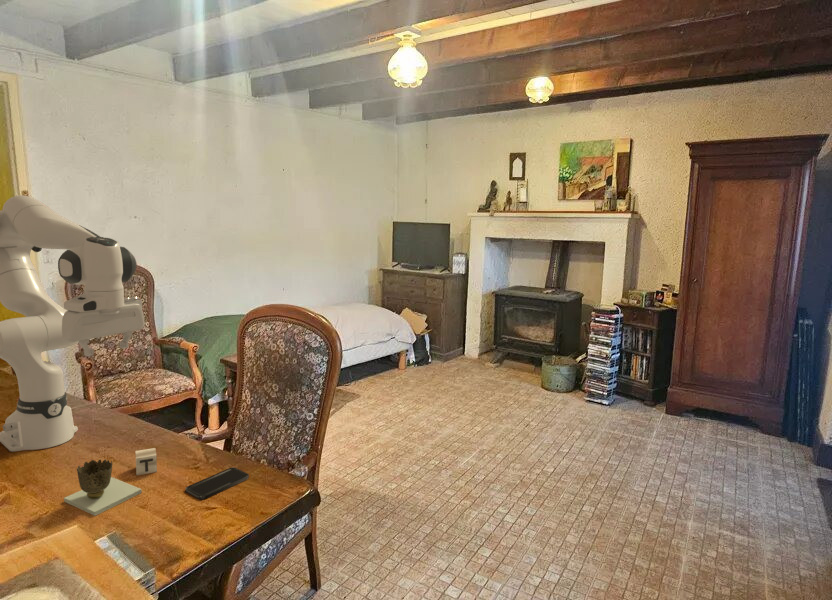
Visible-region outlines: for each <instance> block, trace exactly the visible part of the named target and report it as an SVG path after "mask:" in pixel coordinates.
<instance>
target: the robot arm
mask: <svg viewBox="0 0 832 600" xmlns="http://www.w3.org/2000/svg"><path fill="white" fill-rule="evenodd" d="M42 249H46V250H47V249H48V250H65V251H64V252H63V253H62V254H61V255H60V256H59V258H58V260H57V269H58V274H59V276H60V278H61V279H63V280H64V281H65V282H67V283H68V284H70V285H77V286H79V285H80V286H81V285H82V286H83V285H84V289H83V293H82V294H80V295H77V296H74V297H73V298H70V299H67V300H65V301H64V302H63V306H61V305H59V304H58V303H57V302H56V301H55V300H53V299H52V298H51V297H50V295H49V294H48V293H47V291H46V289H45V287H44V285H43V283H42V282H41V279H40V277H39V274H38V272H37V270H36V268H35V266H34V264H33V262H32V260H31V251H32V252H34V253H39V252H41V251H42ZM137 267H138V265H137V260H136V258H135V256H134V255H133V254H132V252H131V251H130V250H129V249H128V248H126V247H124V246H120V244H119V241H117V240H115V239H113V238H110V237H104V236H100V235H99V234H97V233H95V232H93V231H92V230H90V229H88V228H86V227H84V226H83V225H80V224H78V223H75V222H74V221H71V220H69V219H67V218H65V217H63V216H62V215H60V214H59V213H57V212H55V211H54V210H53V209H51V208H50V207H49V206H47V205H46V204H44V203H43V202H41V201H39V200H38V199H36V198H34V197H31V196H28V195H14V196H12V197H10V198H8V199H7V200H6V201H5V202H4V204H3V206H2V210H0V304H2V307H4V308H5V309H7V310H9V311H12V312H15V313H18V314H21V315H23V317H21V316H20V317H14V318H13V317H12V318H9V319H4V320H1V321H0V359H1V360H3V361H5V362H7V364H8V365H9V366H11V367H12V369H13V371H14V372H15V373H14V374H15V375H16V378H17V379H16V380H17V384H18V385H17V386H18V392H19V397H16V402H17V403H16V409H15V411H13V412H12V413H11V414H10V415H9V416H7V417H6V418H5V423H4V424H3V425H2V431H0V443H1V444H2V445H3V446H4V447H5V448H6V449H7V450H8V451H9V452H19V451H21V452H22V451H31V450H32V451H33V450H35V451H36V450H41V449H42V450H43V449H48V448H52V447H56V446H59V445H62V444H65V443H67V442H68V441H70V440H71V439H73V438H74V436H75V433H76V432H77V431H78V430H79V428H78V426H77V425H74V418H73V411H72V408H71V406H69V405H68V396H67V392H66V391H65V375H64V370H63V369H62V367H61V366H59V365H58V364H56V363H53V362H50V361H46V360H43V357H42V353H45V352H48V351H55V350H60V349H65V348H69V347H72V346H75V345H76V344H79V345H80V347H81V348H82V349H83V355H84V356H85V357H91V356H94V355H95V353H94V352H95V349H94V348H91V347H90V346H89V344H90V340H92V339H97V338H102V337H103V338H104V337H109V336H114V335H119V334H120V335H121V334H122V335H123V338H122V340H121V341H119V342H118V343H119V346H118V347H119V348H120V349H122V350H123V349H124V350H125V349H128V348H129V342H130V340H131V338H132V336H133V332H135V331H141V330H143V329H144V327H145V326H146V325H145V315H144V312H143V302H142V300H141V298H140V297H137V296H131V297H125V287H124V285H123V283H127V282H128V281H129V280H131V279H132V278H133V276H134V274H135V273H136V271H137Z"/></svg>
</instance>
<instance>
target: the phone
mask: <svg viewBox="0 0 832 600" xmlns="http://www.w3.org/2000/svg"><path fill="white" fill-rule="evenodd" d="M249 475H250V474H248V473H247V472H245V471H243V470H241V469H238V468H237V467H235V466H234V467H233V466H232V467H229V468H227V469H223V470H222V471H220V472H218V473H214V474H212V475H211V476H208V477H206V478H203V479H201V480H199V481H197V482H194V483H192V484H189V485H188V486H186V487H185V492H186V493H187V494H189V495H191V496H192V497H194V498H196V499H198V500H201V501H203V500H207V499H209V498H211V497H212V496H215V495H217V494H219V493H221V492H224V491H225V490H227V489H231V488H232V487H234V486H236V485H238V484H241V483H243V482H245V481H247V480H248V479H250V477H249Z"/></svg>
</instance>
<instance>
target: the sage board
mask: <svg viewBox="0 0 832 600" xmlns="http://www.w3.org/2000/svg"><path fill="white" fill-rule="evenodd" d="M140 494H142V488H140V487H138V486H134V485H133V484H129V483H127V482H125V481H122V480H120V479H117V478H116V477H112V476H111V479H110V483H109V485H108V486H107V488H105V489H104V494H103V495H102V496H101V497H99V498H95V499H91V498H88V497H87V493H86V492H84V491H83V490H82V489H81V490H78V491H76V492H73V493H72V494H70V495H68V496H65V497H63V500H64V503H67V504H68V505H71V506H73V507H74V508H77V509H79V510H80V511H81V510H82V511H83V512H86V513H88V514H90V515H92V516H94V517H96V516H98V515H100V514H102V513H104V512H106V511H108V510H109V509H112V508H114V507H116V506H118V505H120V504H122V503H123V502H125V501H128V500H130V499H131V498H135V497H136V496H139V495H140Z"/></svg>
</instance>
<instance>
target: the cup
mask: <svg viewBox="0 0 832 600" xmlns="http://www.w3.org/2000/svg"><path fill="white" fill-rule="evenodd" d="M112 471H113V462H112V461H110V460H109V459H104V460H101V459H98V460H97V461H96V460H94V459H91V460H90V461H89V462H87V461H85V462H84V463H83V466H81V465H78V467H77V468H76V472H77V478H78V483H79V487H80V489H81V490H83V491H84V492H86V493H87V497H88V498H91V499H95V498H99V497H101V496H102V495H103V494H104V489H105V488H107V486H108V485H109V483H110V479H111V477H112Z"/></svg>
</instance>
